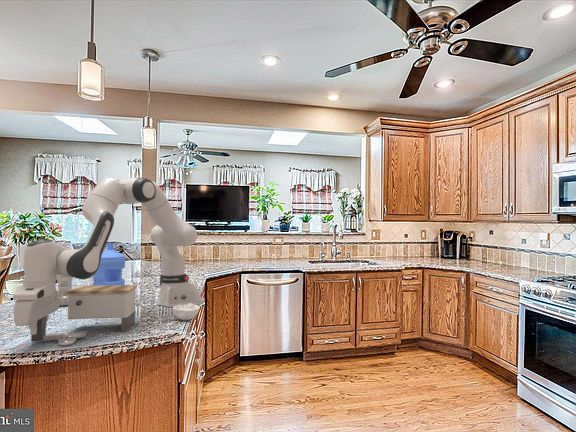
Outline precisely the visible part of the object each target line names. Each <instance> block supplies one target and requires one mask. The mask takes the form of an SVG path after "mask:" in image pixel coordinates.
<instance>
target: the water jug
mask: <svg viewBox="0 0 576 432" xmlns="http://www.w3.org/2000/svg"><path fill="white" fill-rule="evenodd" d="M125 267H126V255H125V254H123V253H121V252H118V251H116V250H114V242H107V243H106V250H105V251H103V253H102V256H101V261H100V266H99V269H98V270H97V272H96V273H95V274H94V275H93V276H92V277H93V285H92V286H106V285H125V279H123V269H125Z"/></svg>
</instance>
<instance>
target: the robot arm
mask: <svg viewBox="0 0 576 432" xmlns="http://www.w3.org/2000/svg"><path fill="white" fill-rule="evenodd" d="M140 203H141V205H142V207H143V208H144V211H145V212H146V214H147V215H148V217H149V219H150V220H151V221H152V223H153V225H155V226H153V227H152V229H151V231H150V240H151V242H152V243H153V244H154V245H155V246H156V247H157V250H158V252H159V255H160V261H161V262H160V263H161V265H160V266H161V268H160V270H161V272H160V277H159V285H160V288H159V295H158V300H157V303H156V304H157V305H158V306H162V307H165V308H173V307H174V306H177V305H187V304H189V303H191V304H193V305H197V306H201V305H203V304H204V303H205V298H204V297H201V293H200V290H199V288H198V287H197V286H196V285H194V284H193V283H192V282H190V281H189V280H190V276H189V274H187V273H185V271H186V269H185V266H186V259H185V257H184V256H183V255H182V254H181V253H180V251H179V249H178V248H179V247H182V248H184V247H189V246H193V245H194V244H195V243H196V242H197V239H198V232H197V229H196V227H194V226H193V225H191V224H189V223H187V222H186V221H185V220H184V219H183V218H181V217H180V215H178V214H177V212H176V210H174V208H173V206H172V204H171V203H170V201H169V200H168V197H167V196H166V194H165V193H164V191H163V189H162V188H161V187H160V186H159V185H158V183H157V182H155V181H153V180H151V179H149V178H146V177H128V178H122V179H116V178H113V177H106V178H103V179H102V180H101V181H99V183H97V184H96V186H94V188H93V189H92V190H91V191H90V193H89V195H88V196H87V197H86V199H85V200H84V203H83V205H82V207H81V211H82V215H83V216H84V218H85V219H86V220H87V221H88V222H89V223H91V224H92V225H93V226H92V229H91V231H90V233H89V236H88V238H87V240H86V242H85V244H84V245H83V246H82V247H81V248H68V247H65V246H62V245H60V244H58V243H56V242H55V241H54V240H53V239H39V240H35V241H31V242H30V243H28V244H27V245H26V246H25V249H24V254H23V266H22V269H23V273H24V276H23V280H22V285H21V286H20V288H19V289H17V290H16V291H15V292H14V293H13V296H12V297H13V298H12V300H13V301H15V302H14V305H13V323H14V325H15V326H16V327H22V326H28V328H29V330H30V331H29V333H30V335H35V334H37V333H38V332H39V331H38V330H39V328H37V323H38V320H39V319H41V318H43V317H46V324H47V323H48V320H49V316H50V315H51V314H54V313H55V312H57V311H58V310H59V307H60V306H59V294H58V289H57V286H56V284H57V283H56V282H57V281H56V280H57V275H61V276H67V277H73V279H79V280H87V279H90V278H92V277H93V275H94V274H95V273H96V272H97V270H98V269H99V266H100V261H101V256H102V253H103V252H104V250H105V248H106V246H107V243H108V241H109V238H110V236H111V234H112V230H113V228H114V225H115V218H114V216H115V213H116V211H117V210H118V208H119V206H120V205H124V204H125V205H134V204H140Z"/></svg>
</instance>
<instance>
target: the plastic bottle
mask: <svg viewBox="0 0 576 432" xmlns="http://www.w3.org/2000/svg"><path fill="white" fill-rule="evenodd" d="M73 279H74V277H67V276H61V275H57V276H56V280H57V291H58V294H59V307H60V306H61V307H66V306H67V307H68V294H66V291H69V290H71V289H72V285H73V284H72V283H73Z"/></svg>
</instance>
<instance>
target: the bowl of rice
mask: <svg viewBox="0 0 576 432" xmlns="http://www.w3.org/2000/svg"><path fill="white" fill-rule="evenodd" d="M200 309H201V305H193V304H191V303H189V304H187V305H177V306H174V307H172V315H173V316H174V317H175V318H176V319H179V320H180V321H190V320H193V319H195V317H196V316H197V315H198V313H199V310H200Z"/></svg>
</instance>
